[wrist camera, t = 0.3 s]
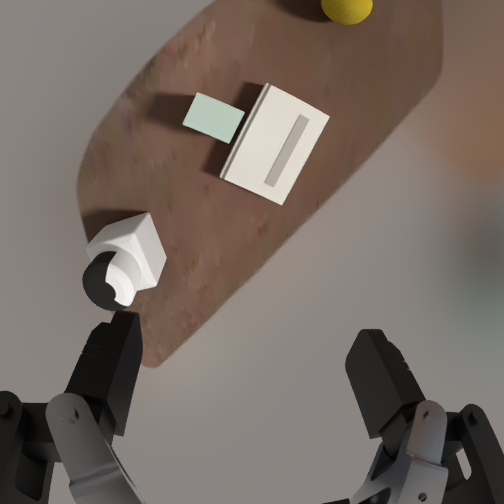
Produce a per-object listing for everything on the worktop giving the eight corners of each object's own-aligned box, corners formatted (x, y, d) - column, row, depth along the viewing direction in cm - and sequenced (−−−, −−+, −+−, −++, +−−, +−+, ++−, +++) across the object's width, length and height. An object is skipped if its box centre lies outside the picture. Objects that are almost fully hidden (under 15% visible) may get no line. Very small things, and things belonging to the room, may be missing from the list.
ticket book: (264, 85, 29) (267, 83, 27) (323, 116, 31) (329, 116, 29) (220, 173, 34) (219, 177, 32) (278, 199, 36) (282, 205, 34)
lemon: (362, 21, 25) (392, 4, 18) (332, 37, 27) (359, 21, 19) (335, -10, 23) (360, -33, 16) (304, 5, 24) (323, -19, 17)
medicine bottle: (123, 269, 39) (95, 323, 28) (104, 225, 35) (64, 269, 25) (167, 258, 38) (148, 313, 28) (149, 210, 35) (118, 253, 24)
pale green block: (202, 96, 29) (196, 92, 24) (242, 113, 31) (244, 112, 25) (189, 122, 31) (181, 124, 25) (229, 139, 32) (229, 143, 27)
